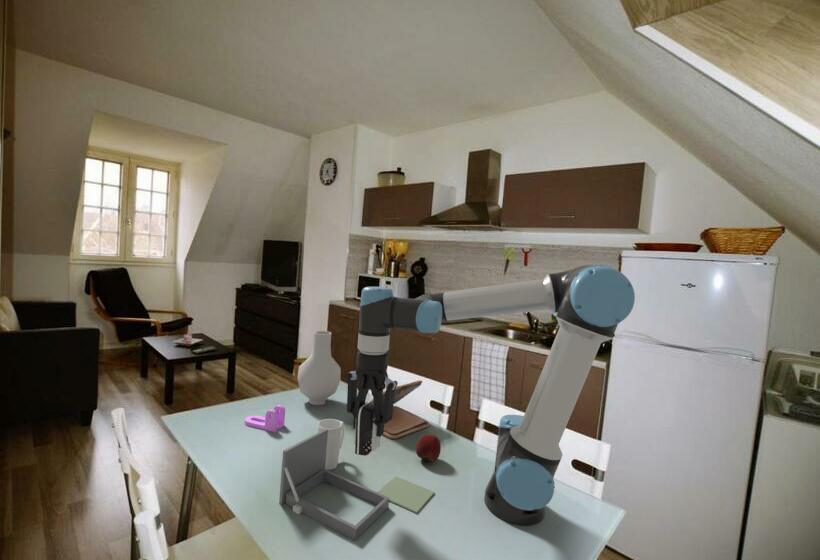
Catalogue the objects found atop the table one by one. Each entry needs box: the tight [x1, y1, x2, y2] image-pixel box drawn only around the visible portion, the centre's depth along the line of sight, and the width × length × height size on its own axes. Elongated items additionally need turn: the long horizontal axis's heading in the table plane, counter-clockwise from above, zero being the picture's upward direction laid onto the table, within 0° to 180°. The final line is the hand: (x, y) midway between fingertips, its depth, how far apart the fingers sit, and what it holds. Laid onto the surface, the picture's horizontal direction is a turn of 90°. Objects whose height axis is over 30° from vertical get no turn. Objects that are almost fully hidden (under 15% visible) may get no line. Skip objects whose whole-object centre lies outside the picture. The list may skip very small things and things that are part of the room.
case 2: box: [369, 379, 430, 440], centre depth 145 cm, size 20×21×16 cm
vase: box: [297, 330, 342, 406], centre depth 157 cm, size 17×16×28 cm
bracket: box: [244, 404, 286, 433], centre depth 134 cm, size 13×6×7 cm, turn 74°
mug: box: [316, 418, 346, 471], centre depth 114 cm, size 10×7×12 cm, turn 149°
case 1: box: [278, 429, 390, 541], centre depth 96 cm, size 22×15×13 cm
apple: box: [415, 433, 442, 462], centre depth 121 cm, size 7×8×8 cm
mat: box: [377, 475, 435, 514], centre depth 103 cm, size 12×10×1 cm
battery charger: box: [354, 401, 376, 457], centre depth 97 cm, size 7×4×11 cm, turn 160°
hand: (367, 445), depth 97 cm, fingers closed on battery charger, 4 cm apart
